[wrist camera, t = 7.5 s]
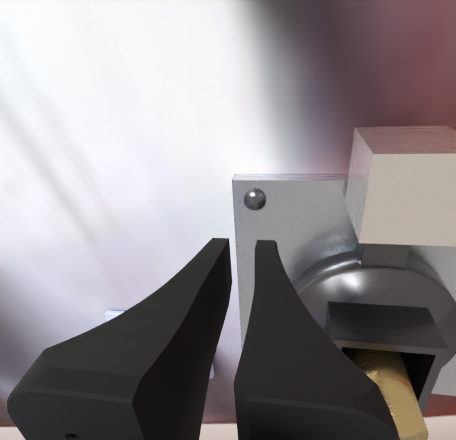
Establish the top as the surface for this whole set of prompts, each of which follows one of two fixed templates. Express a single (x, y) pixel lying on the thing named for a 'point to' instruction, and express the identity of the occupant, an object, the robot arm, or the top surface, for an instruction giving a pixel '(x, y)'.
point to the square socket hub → (393, 253)
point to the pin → (393, 389)
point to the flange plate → (311, 236)
